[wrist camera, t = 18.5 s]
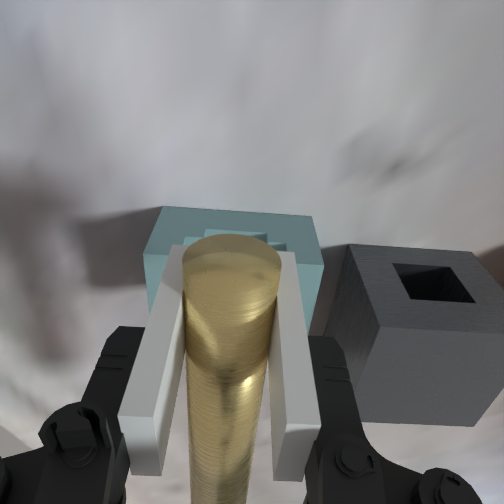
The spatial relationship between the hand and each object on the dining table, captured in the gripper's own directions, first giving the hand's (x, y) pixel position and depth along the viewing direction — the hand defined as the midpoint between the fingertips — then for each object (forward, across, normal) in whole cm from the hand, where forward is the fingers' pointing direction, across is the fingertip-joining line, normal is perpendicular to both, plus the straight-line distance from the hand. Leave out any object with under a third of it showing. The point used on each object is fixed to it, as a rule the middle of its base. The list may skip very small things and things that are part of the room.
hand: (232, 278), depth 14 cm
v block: (+11, 0, +6) cm, 13 cm away
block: (+11, -12, +15) cm, 22 cm away
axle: (-1, 0, +7) cm, 7 cm away
